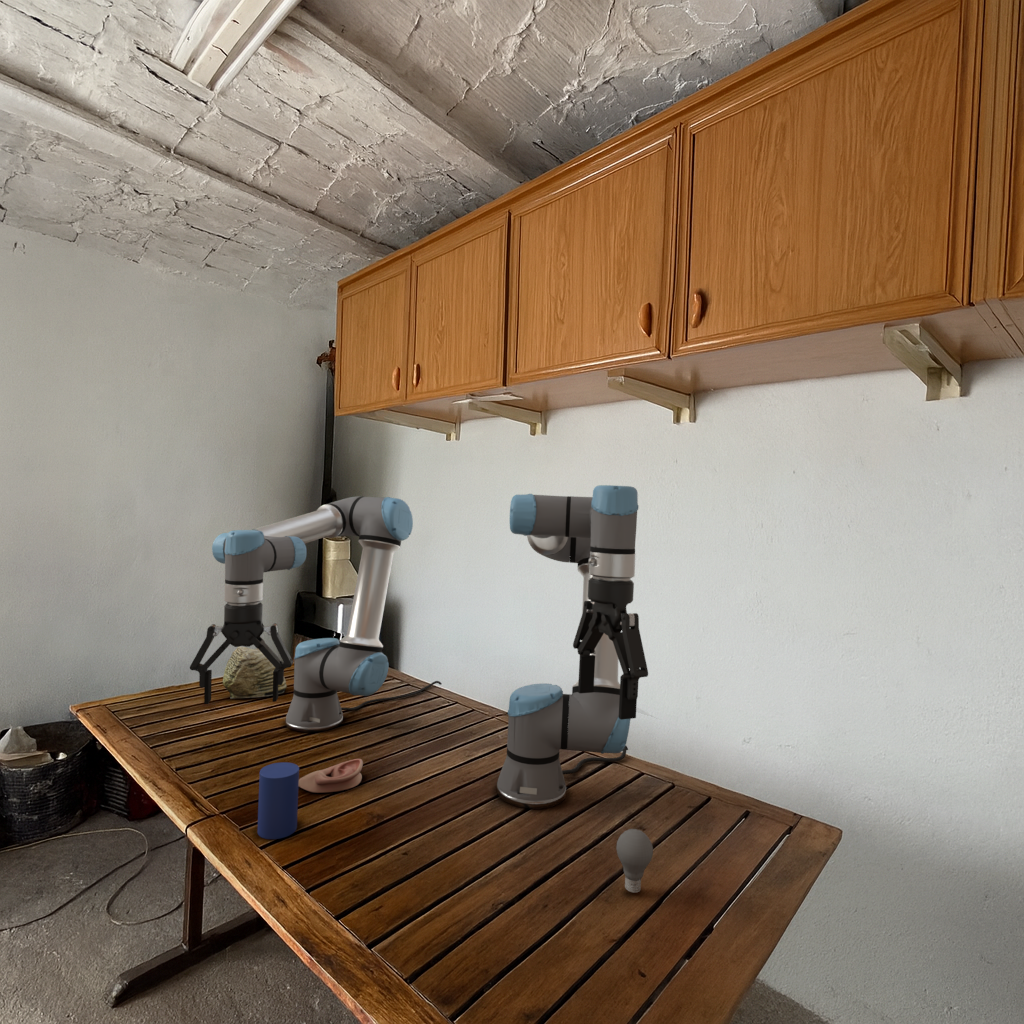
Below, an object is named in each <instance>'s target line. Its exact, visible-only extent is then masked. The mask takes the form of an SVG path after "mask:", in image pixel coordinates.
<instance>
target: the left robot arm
mask: <svg viewBox="0 0 1024 1024" xmlns="http://www.w3.org/2000/svg"><path fill="white" fill-rule="evenodd" d="M413 525H414V519H413V514H412V511H411V509H410V506H409V504H408V503H407V502H406V501H405V500H403V499H401V498H397V497H390V496H363V495H359V496H350V497H346V498H343V499H339V500H335V501H332V502H329V503H326V504H322V505H320V506H319V507H318V508H317V509H316V510H314V511H311V512H307V513H303V514H301V515H298V516H294V517H291V518H286V519H283V520H280V521H276V522H273V523H270V524H267V525H261V526H259V527H256V528H253V529H236V530H229V531H228V532H222V533H220V534H219V535H217V536H216V537H215V539H213V542H212V546H211V550H212V551H211V552H212V556H213V558H214V559H215V561H217V562H218V563H220V564H224V602H225V603H226V604H225V605H224V606H223V607H224V609H223V626H221V625H216V624H214V623H212V624H210V625H209V626H208V627H207V628H206V629H207V630H206V637H205V639H204V640H203V642H202V644H201V645H200V648H199V650H198V651H197V652H196V655H195V657H194V658H193V660H192V662H191V664H190V666H189V670H190V671H195V672H198V674H199V676H198V677H199V679H198V680H199V681H198V682H199V683H198V684H199V688H201V689H203V688H204V691H203V692H204V695H203V696H204V697H203V704H204V705H209V703H210V702H211V701H212V682H213V681H212V673H213V670H212V669H208V668H210V667H211V666H212V665H213V664H214V663H215V662H216V660H217V659H218V658H219V657H220V656H221V655H222V653H224V652H225V650H226V649H227V648H228V647H229V646H230V645H231V646H232V647H234V648H238V647H247V648H251V646H254V647H255V649H259V650H260V651H261V652H262V653H263V655H264V656H265V657H266V658H267V659H268V660H269V661H270V662H271V663H272V664H273V666H274V667H275V669H274V671H273V695H272V702H273V703H274V702H277V701H278V699H279V694H278V685H282V683H283V681H284V677H285V670H286V669H290V668H291V667H292V666H293V665H294V666H293V695H292V696H293V697H292V699H291V702H290V704H289V708H288V711H287V713H286V715H285V726H286V728H287V729H289V730H291V731H294V732H295V731H296V732H301V733H316V732H325V731H329V730H332V729H335V728H337V727H339V726H340V725H342V723H343V722H344V714H343V711H349V712H351V711H356V710H359V709H360V708H362V707H364V706H365V705H368V704H371V703H375V702H384V701H385V702H386V701H392V700H398V699H403V698H407V697H411V696H412V697H413V696H416V695H419V694H420V693H422V692H423V691H425V690H426V689H429V688H431V687H432V686H433V685H435V684H438V685H442V682H441V681H439V680H435V681H433V682H431V683H430V684H428V685H426V686H423V687H422V688H420V689H419V690H417V691H414V692H410V693H406V694H401V695H395V696H391V697H390V696H389V697H381V698H375V699H370V700H366V701H364V702H362V703H360V704H359V705H357V706H354V707H345V706H344V707H343V706H341V702H340V699H339V695H338V692H341V693H345V694H350V695H352V696H361V697H370V696H372V695H374V694H376V693H377V692H378V691H379V690H380V688H381V687H382V686H383V685H384V683H385V681H386V679H387V676H388V673H389V668H390V667H389V665H390V664H389V659H388V656H387V655H386V654H384V652H383V650H384V644H383V643H382V642H381V640H380V633H381V628H382V621H383V616H384V611H385V605H386V598H387V593H388V588H389V581H390V576H391V571H392V566H393V565H392V564H393V560H394V554H395V553H396V552H397V551H398V550H400V548H401V546H402V545H401V544H402V541H405V540H407V539H408V538H409V537H410V536H411V534H412V531H413V527H414V526H413ZM342 536H343V537H344V536H346V537H348V536H349V537H358V543H359V544H360V546H361V547H362V551H361V556H360V562H359V566H358V572H357V578H356V582H355V589H354V594H353V598H352V599H353V600H352V605H351V611H350V616H349V621H348V627H347V632H346V635H345V636H344V637H343V638H341V639H340V640H339V638H335V637H322V638H313V639H308V640H304V641H302V642H299V643H298V644H297V645H296V647H295V652H294V653H295V654H294V657H293V658H292V657H291V655H290V653H289V651H288V649H287V646H286V644H285V643H284V641H283V639H282V637H281V635H280V632H279V625H278V623H275V622H274V623H272V624H268V625H264V623H263V603H262V601H263V600H264V599H263V598H264V573H269V572H277V571H285V570H287V571H289V570H292V569H296V568H299V567H301V566H302V565H303V564H304V563H305V562H306V559H307V554H308V553H307V546H306V544H309V543H311V542H314V541H317V540H319V539H323V538H328V539H335V538H338V537H342ZM264 632H266V634H267V635H268V636H270V637H271V640H272V642H273V644H274V646H275V648H276V649H277V652H278V654H279V656H280V657H281V658H279V656H278V655H277V654H276V653H275V652H274V651H273V650H272V649H271V648H270V646H269V645H268V644H267V643H266V642H265V640H264V639H263V637H261V636H262V635H263V634H264ZM220 633H221V634H222V635H223V636H224V638H225V641H223V643H222V644H220V646H219V647H218V648H217V649H216V650H215V651H214V652H213V653H212V654H211V655H210V657H209V658H208V659H207V660H206V661H205V662H204V663H201V662H202V660H203V659H204V657H205V655H206V653H207V651H208V649H209V648H210V646H211V644H212V643H213V640H214V639H215V637H217V636H218V635H219V634H220Z"/></svg>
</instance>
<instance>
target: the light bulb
mask: <svg viewBox="0 0 1024 1024" xmlns="http://www.w3.org/2000/svg"><path fill="white" fill-rule="evenodd" d="M615 849H616V854H617V857H618V859H619V861H620V863H621V865H622V867H623V873H624V874H623V875H624V876H625V878H624V888H625V890H627V891H628V892H630V893H634V894H635V893H639V892H640V891H641V889H642V887H641V886H642V879H643V877H644V875H645V871H646V868H647V867H648V866H649V864H650V863H651V861H652V859H653V855H654V847H653V843H652V841H651V838H649V836H648V835H647V834H646V833H645V832H643V831H642V830H641V829H636V828H629V829H627V830H625V831H623V832H622V833H621V834H620V835H619V837H618V839H617V841H616V847H615Z"/></svg>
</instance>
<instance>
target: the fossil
mask: <svg viewBox="0 0 1024 1024" xmlns="http://www.w3.org/2000/svg"><path fill="white" fill-rule="evenodd" d="M274 669H275V667H274V666H273V664H272V663H271V662H270V661H269V660H268V659H267V658H266V657H265V656H264V655H263V653H262V652H261V651H260V650H259V649H257V648H251V647H245V646H240V647H236V649H235V650H233V651H232V653H231V656H230V657H229V659H228V660H227V663H226V666H225V668H224V671H223V675H222V676H223V677H222V685H223V687H224V688H225V690H226V691H228V693H229V698H230V699H250V698H264V697H271V696H272V697H273V671H274ZM287 687H288V686H287V680H286V678H285V676H284V681H283V683H282V685H278V695H281V694H284V693H285V691H286V689H287Z"/></svg>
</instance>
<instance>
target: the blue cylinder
mask: <svg viewBox="0 0 1024 1024" xmlns="http://www.w3.org/2000/svg"><path fill="white" fill-rule="evenodd" d="M299 779H300V767H299V765H297V764H296V763H294V762H288V761H287V762H285V761H283V762H274V763H270V764H267V765H265V766H263V767H262V768H261V769H259V779H258V805H257V806H258V807H257V835H258V837H260V838H262V839H266V840H277V839H278V840H279V839H284V838H287V837H289V836H291V835H293V834H294V833H295V832H296V831H297V828H298V808H299Z"/></svg>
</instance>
